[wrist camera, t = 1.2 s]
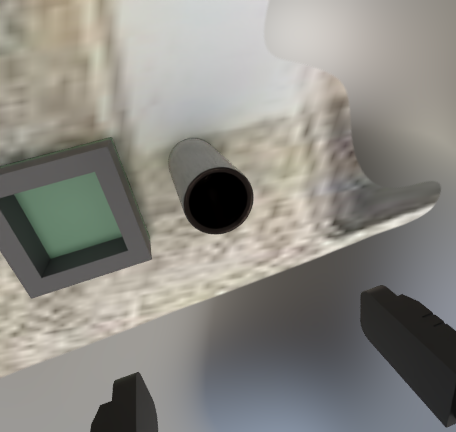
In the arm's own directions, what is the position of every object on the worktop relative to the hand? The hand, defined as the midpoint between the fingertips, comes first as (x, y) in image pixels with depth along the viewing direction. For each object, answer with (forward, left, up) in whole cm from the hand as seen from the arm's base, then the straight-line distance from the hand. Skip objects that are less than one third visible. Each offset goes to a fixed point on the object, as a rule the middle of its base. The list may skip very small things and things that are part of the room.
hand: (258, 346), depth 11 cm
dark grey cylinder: (-1, +1, -21) cm, 21 cm away
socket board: (0, -10, -20) cm, 23 cm away
